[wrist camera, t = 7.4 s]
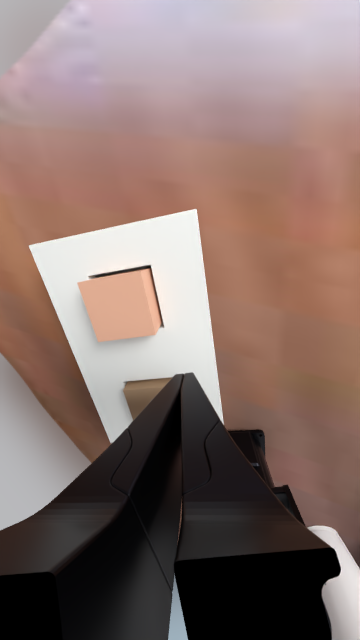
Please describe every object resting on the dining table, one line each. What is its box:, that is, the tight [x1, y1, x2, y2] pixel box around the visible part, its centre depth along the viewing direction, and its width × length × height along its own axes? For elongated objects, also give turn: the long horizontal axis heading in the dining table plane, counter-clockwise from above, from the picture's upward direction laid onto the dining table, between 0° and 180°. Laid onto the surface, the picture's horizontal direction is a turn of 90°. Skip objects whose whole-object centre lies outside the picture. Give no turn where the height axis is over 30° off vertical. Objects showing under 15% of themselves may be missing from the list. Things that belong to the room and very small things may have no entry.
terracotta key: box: [77, 268, 163, 342], centre depth 16 cm, size 5×5×4 cm
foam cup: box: [307, 526, 360, 640], centre depth 26 cm, size 10×9×13 cm
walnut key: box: [123, 377, 172, 420], centre depth 21 cm, size 5×5×4 cm
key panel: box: [29, 209, 224, 443], centre depth 20 cm, size 23×14×4 cm, turn 10°
